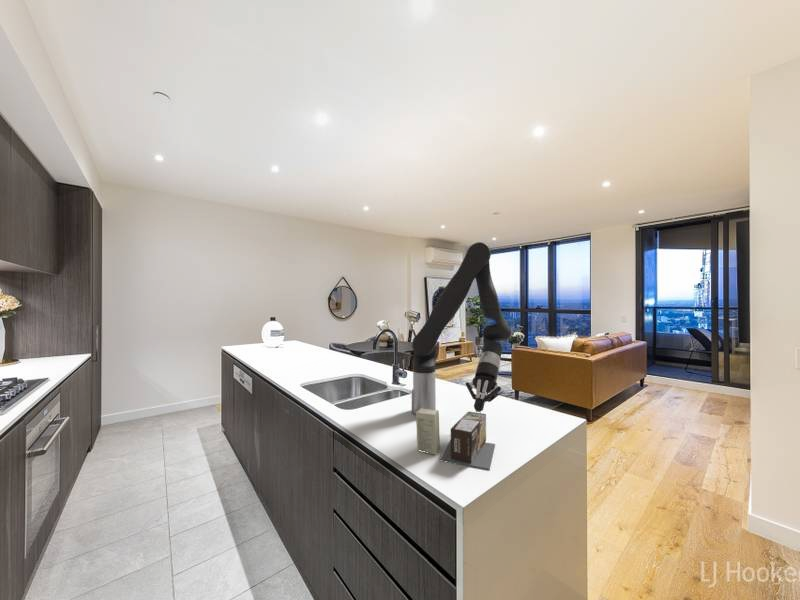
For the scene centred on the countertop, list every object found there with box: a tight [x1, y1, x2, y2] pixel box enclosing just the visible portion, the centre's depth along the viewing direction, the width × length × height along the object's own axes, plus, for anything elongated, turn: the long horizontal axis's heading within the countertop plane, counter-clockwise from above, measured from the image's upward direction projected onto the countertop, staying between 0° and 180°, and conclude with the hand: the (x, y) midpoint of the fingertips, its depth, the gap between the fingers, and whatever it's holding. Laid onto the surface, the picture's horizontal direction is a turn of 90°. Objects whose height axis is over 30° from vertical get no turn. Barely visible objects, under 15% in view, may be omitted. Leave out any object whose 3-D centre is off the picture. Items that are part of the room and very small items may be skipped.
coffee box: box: [450, 411, 487, 463], centre depth 98 cm, size 9×6×16 cm
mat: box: [439, 439, 496, 471], centre depth 97 cm, size 14×16×1 cm
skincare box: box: [415, 408, 441, 455], centre depth 99 cm, size 6×4×12 cm
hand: (477, 410), depth 105 cm, fingers closed
